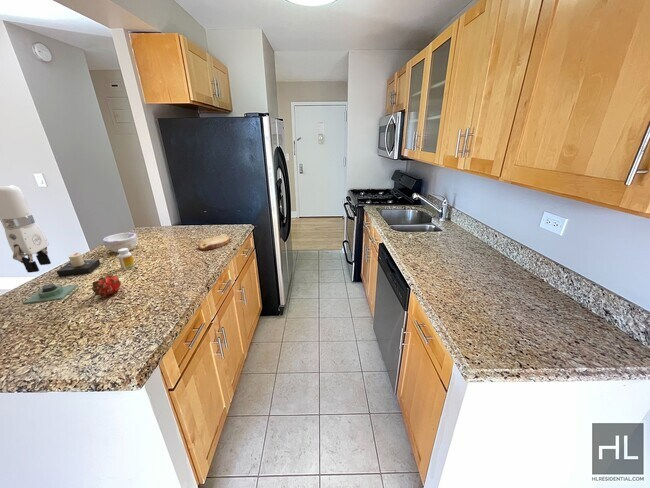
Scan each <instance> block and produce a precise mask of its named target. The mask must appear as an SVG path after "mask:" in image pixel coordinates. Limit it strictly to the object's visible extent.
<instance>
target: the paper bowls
mask: <svg viewBox="0 0 650 488" xmlns="http://www.w3.org/2000/svg"><path fill="white" fill-rule="evenodd" d="M102 242H103V245H104V248H105V249H106V250H110V251H111V252H113V253H117V254H119V253H118V250H119V249H122V248H128V250H129V251H131V250H133V249H134V248H135V246H136V245H138V243H139V240H138V236H137V234H136V233H134V232H120V233H115V234H110V235H108V236H105V237H104V238H103V239H102Z"/></svg>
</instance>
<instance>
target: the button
mask: <svg viewBox="0 0 650 488" xmlns="http://www.w3.org/2000/svg"><path fill="white" fill-rule="evenodd" d="M55 285H56V284H55V283H49V284H46V285H44V286H42V287H41V289H42V290H43V292H49V291H53V290H55V289H56V286H55Z"/></svg>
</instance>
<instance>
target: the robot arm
mask: <svg viewBox="0 0 650 488" xmlns="http://www.w3.org/2000/svg"><path fill="white" fill-rule="evenodd" d="M0 224H1V225H2V228H3V229H4V234H5V236H6V240H7V243H8V245H9V247H10V249H11V252H12V253H13V254H12V259H13V260H15V261H18V262H20V263H21V264H23V266H24V268H25V270H26V272H27V273H38V272H39V271H40V268H39V266H46V265H51V264H52V262H51V260H50V257H49V255H48V246H49V241H48V239H47V237H46V236H45V233H44V232H43V229H42V228H41V226H40V225H39V224H38V223H37V221H35V219H34V216H33V215H32V212H31V209H30V207H29V205H28V202H27V200H26V198H25V196H24V193H23V191H22V189H21V188H20V187H18V186H17V185H0ZM35 254H36V255H35ZM33 255H35V257H36V260H37V261H38V263H39V266H38V263H37V262H36V261H35V260H34V257H33ZM26 256H27V257H26Z"/></svg>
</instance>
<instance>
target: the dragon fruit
mask: <svg viewBox="0 0 650 488" xmlns="http://www.w3.org/2000/svg"><path fill="white" fill-rule="evenodd" d="M121 285H122V281H121V280H120V279H119V276H117V275H115V274H114V275H111V274H106V275H105V276H101V277H99V278H98V279H97V280H95V281H93V282H92V287H91V290H92V292H93V293H94V296H100V297H101V298H103V297H106V298H107V297H109V296H110V295H115V294H117V293H118V291H119V290H120V287H121Z"/></svg>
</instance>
